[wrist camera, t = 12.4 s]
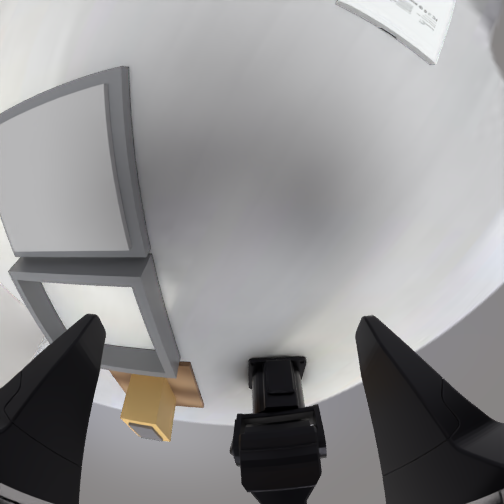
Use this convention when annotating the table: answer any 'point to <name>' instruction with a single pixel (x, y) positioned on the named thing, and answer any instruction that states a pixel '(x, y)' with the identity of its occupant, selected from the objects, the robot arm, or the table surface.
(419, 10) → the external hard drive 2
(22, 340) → the milk
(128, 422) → the ochre module
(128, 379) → the walnut board
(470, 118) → the table surface
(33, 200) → the equipment case
